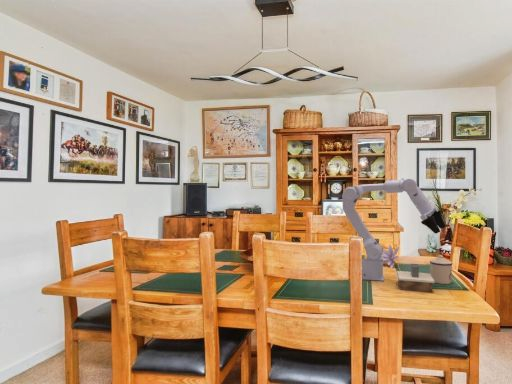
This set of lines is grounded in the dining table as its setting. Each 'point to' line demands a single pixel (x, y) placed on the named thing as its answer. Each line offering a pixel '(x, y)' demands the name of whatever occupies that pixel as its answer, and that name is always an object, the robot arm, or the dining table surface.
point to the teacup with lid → (441, 270)
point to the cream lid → (415, 275)
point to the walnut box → (415, 286)
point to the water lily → (390, 256)
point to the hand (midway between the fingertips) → (440, 230)
